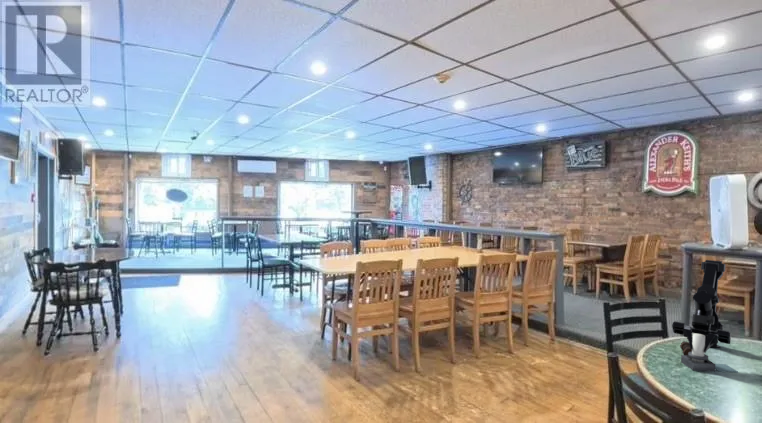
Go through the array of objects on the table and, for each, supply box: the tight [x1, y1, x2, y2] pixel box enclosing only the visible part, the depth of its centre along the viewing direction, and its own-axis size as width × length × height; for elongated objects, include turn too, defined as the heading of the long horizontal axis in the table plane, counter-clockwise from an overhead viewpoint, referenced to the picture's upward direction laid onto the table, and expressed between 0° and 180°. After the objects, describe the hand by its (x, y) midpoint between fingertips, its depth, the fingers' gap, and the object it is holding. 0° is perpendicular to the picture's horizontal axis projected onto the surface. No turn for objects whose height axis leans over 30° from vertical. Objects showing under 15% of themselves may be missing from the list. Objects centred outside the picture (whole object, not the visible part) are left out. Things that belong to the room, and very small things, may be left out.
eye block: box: [680, 354, 716, 373], centre depth 167 cm, size 8×8×3 cm
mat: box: [714, 363, 739, 373], centre depth 166 cm, size 7×7×1 cm
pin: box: [688, 333, 709, 362], centre depth 167 cm, size 6×6×13 cm
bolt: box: [679, 340, 692, 355], centre depth 181 cm, size 6×5×15 cm
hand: (697, 350), depth 166 cm, fingers closed on pin, 4 cm apart
